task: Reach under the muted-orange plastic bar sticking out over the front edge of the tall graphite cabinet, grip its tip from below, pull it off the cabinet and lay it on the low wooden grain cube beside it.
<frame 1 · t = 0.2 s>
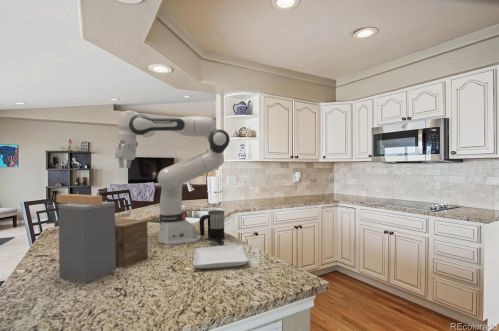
hand: (124, 167, 140), 39 cm above the countertop, tool pointing down, fingers open, 8 cm apart
orange bar: (78, 203, 101), point 26 cm above the countertop, touching graphite cabinet
graphite cabinet: (88, 273, 99), on the countertop
salad plate: (219, 262, 111), on the countertop
wooden grain cube: (124, 259, 113), on the countertop
milk frother: (216, 241, 141), on the countertop
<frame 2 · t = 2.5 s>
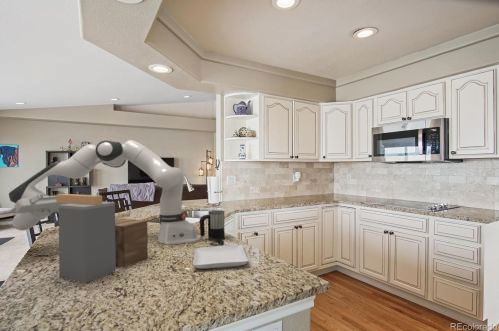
hand: (53, 194, 115), 28 cm above the countertop, tool pointing upward, fingers open, 8 cm apart
nothing on the countertop moved.
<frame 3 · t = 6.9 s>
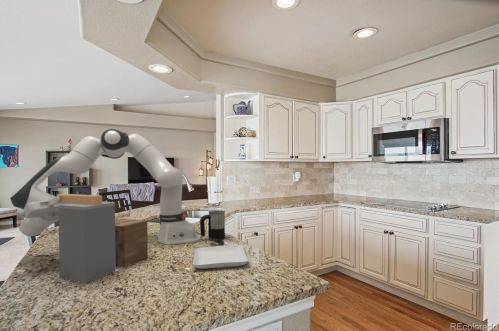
hand: (65, 197, 104), 28 cm above the countertop, tool pointing upward, fingers closed on orange bar, 3 cm apart
orange bar: (78, 203, 101), point 26 cm above the countertop, touching graphite cabinet, gripper
everything else where it was.
when the fingers open (19 cm above the countertop, at t = 14.5 s): orange bar stays where it is, resting on wooden grain cube.
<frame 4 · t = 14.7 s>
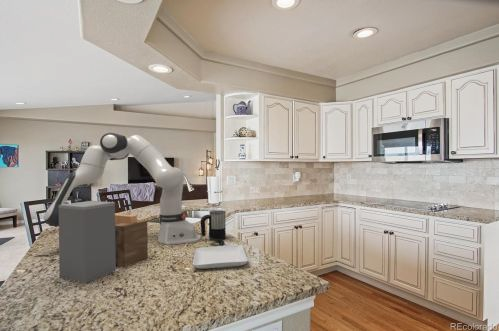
hand: (103, 213, 119), 19 cm above the countertop, tool pointing upward, fingers open, 5 cm apart
orange bar: (115, 221, 116), point 16 cm above the countertop, touching wooden grain cube
everything else where it was.
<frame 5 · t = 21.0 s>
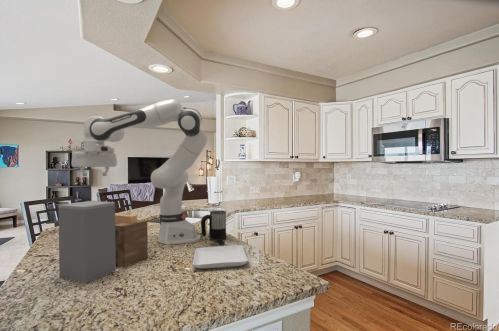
hand: (94, 176, 134), 35 cm above the countertop, tool pointing down, fingers open, 8 cm apart
at the end: orange bar inside the target area (0.2 cm from its centre), point 16.0 cm above the countertop; orange bar touching wooden grain cube; the gripper is holding nothing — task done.
